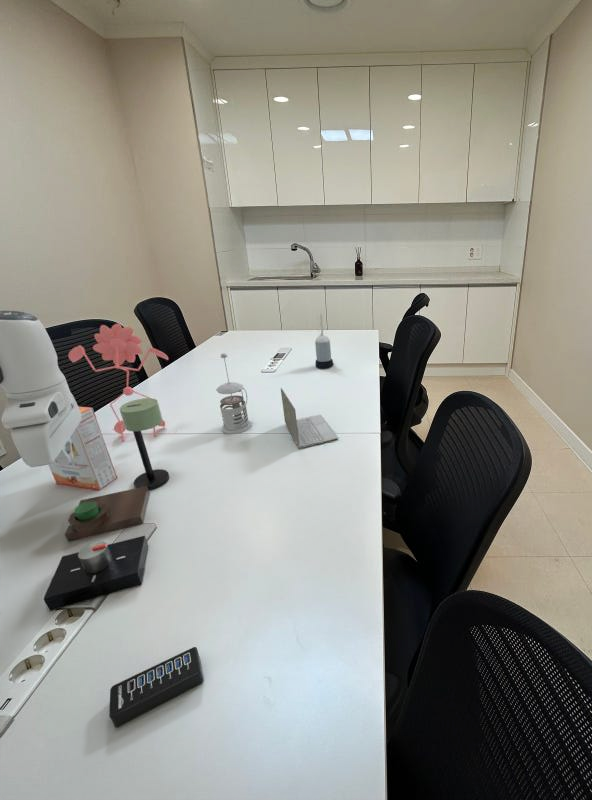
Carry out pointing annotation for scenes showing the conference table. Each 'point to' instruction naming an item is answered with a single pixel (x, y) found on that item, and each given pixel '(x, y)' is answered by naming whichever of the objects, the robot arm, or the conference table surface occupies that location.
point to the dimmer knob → (95, 557)
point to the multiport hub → (155, 686)
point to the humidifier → (323, 350)
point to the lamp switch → (86, 510)
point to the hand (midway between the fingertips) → (67, 461)
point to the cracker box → (86, 457)
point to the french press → (233, 422)
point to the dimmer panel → (97, 575)
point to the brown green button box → (111, 514)
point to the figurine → (117, 357)
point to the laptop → (306, 426)
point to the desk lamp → (138, 419)
